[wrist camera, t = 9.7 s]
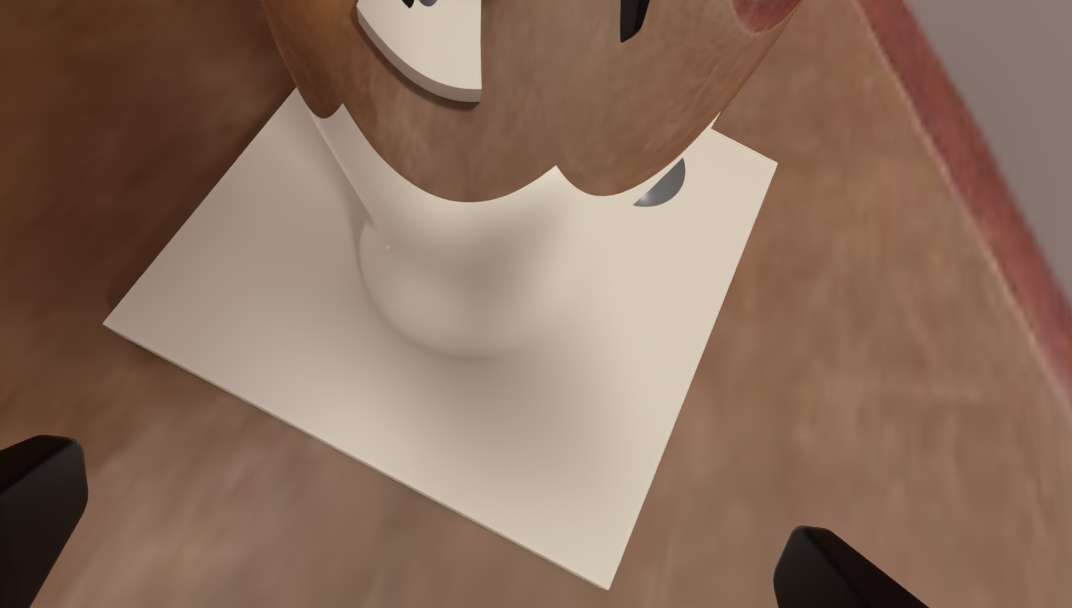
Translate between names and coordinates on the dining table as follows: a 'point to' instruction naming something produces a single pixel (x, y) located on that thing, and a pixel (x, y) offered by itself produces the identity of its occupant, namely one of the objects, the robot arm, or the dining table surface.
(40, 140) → the dining table surface
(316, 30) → the beer glass
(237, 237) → the two-dot tile
